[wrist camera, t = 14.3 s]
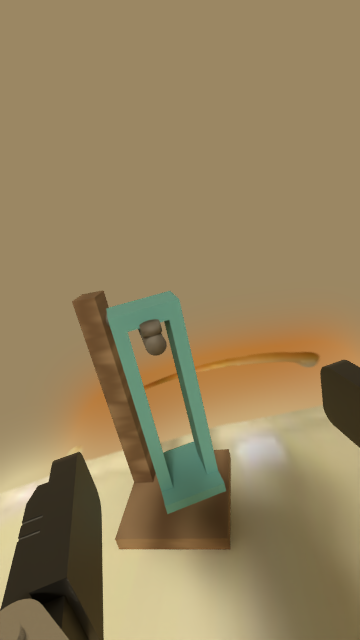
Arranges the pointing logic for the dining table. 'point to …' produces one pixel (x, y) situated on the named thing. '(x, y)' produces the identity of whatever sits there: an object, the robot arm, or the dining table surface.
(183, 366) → the teal loop
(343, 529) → the dining table surface
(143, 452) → the hook stand
